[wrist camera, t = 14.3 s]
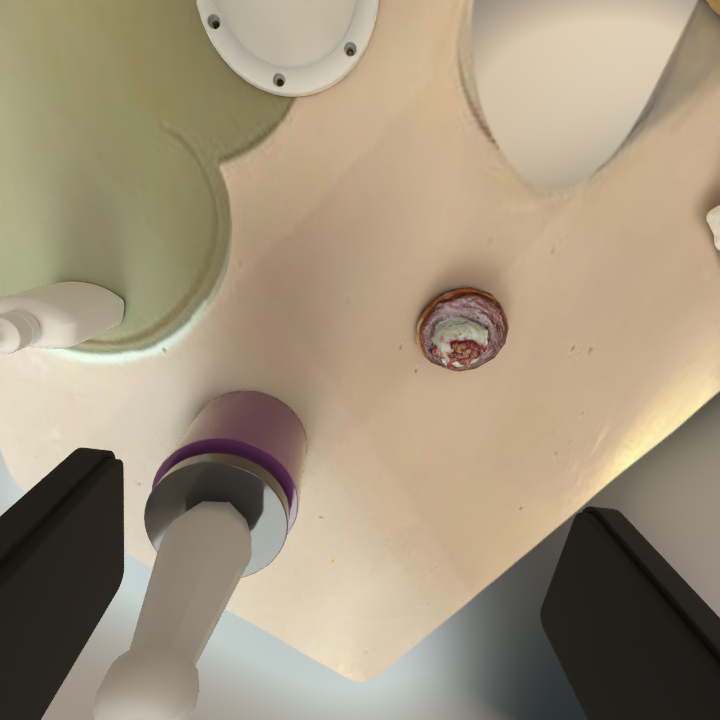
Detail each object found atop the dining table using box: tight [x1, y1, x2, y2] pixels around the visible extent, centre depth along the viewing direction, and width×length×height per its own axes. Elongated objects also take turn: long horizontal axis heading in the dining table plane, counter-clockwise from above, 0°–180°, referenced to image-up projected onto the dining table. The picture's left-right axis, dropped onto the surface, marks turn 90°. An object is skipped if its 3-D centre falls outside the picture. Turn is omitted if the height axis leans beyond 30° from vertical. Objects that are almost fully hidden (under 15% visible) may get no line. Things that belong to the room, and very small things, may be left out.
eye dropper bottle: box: [0, 282, 124, 354], centre depth 32 cm, size 4×6×12 cm
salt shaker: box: [92, 501, 252, 720], centre depth 25 cm, size 6×6×13 cm
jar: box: [144, 391, 307, 578], centre depth 37 cm, size 11×11×12 cm
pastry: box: [416, 288, 509, 371], centre depth 37 cm, size 8×8×5 cm
